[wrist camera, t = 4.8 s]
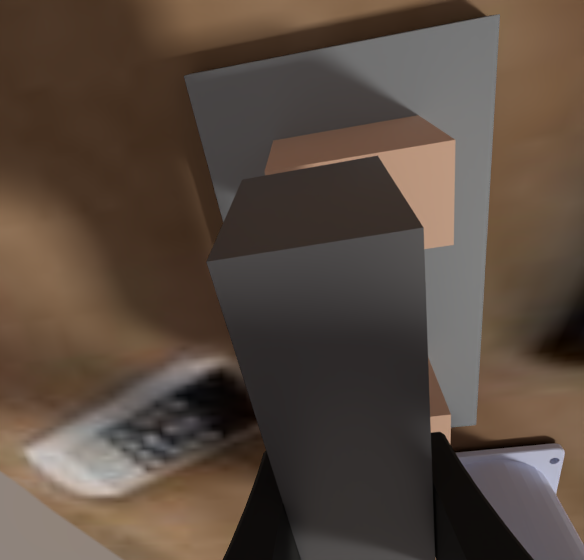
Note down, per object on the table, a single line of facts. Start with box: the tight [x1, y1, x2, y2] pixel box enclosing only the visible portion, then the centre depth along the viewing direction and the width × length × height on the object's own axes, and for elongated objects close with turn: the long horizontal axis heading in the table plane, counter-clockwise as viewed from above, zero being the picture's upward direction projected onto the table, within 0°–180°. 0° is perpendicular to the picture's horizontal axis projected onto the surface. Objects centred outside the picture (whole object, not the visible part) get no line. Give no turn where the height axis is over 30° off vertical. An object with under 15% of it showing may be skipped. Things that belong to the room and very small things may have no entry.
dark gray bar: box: [207, 156, 435, 560], centre depth 11 cm, size 14×3×4 cm, turn 10°
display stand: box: [184, 14, 500, 444], centre depth 16 cm, size 18×10×5 cm, turn 10°
